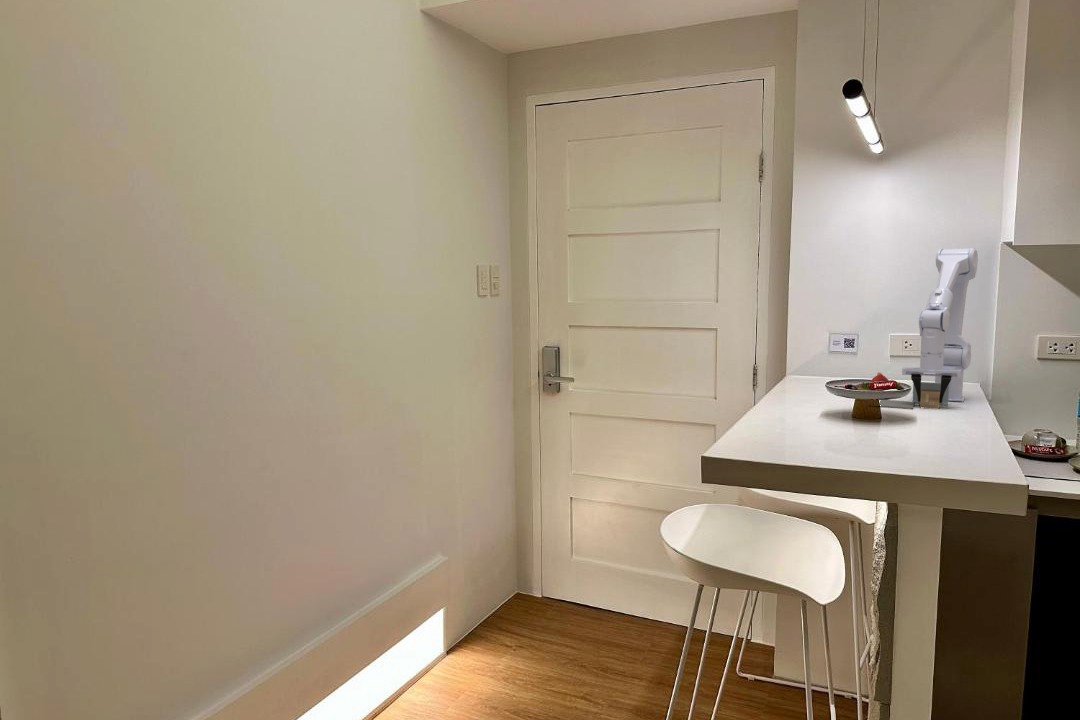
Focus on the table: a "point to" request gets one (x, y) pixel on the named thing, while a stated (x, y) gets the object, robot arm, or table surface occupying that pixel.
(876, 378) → the onion
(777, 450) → the table surface
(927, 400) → the taped cardboard box
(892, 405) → the grey square plate
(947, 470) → the table surface
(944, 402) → the screen
